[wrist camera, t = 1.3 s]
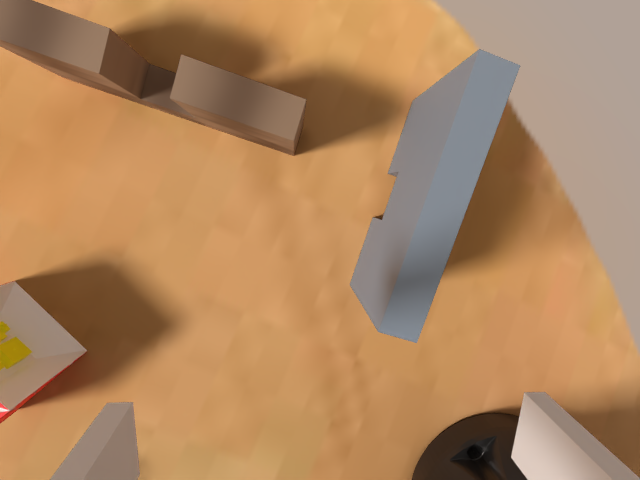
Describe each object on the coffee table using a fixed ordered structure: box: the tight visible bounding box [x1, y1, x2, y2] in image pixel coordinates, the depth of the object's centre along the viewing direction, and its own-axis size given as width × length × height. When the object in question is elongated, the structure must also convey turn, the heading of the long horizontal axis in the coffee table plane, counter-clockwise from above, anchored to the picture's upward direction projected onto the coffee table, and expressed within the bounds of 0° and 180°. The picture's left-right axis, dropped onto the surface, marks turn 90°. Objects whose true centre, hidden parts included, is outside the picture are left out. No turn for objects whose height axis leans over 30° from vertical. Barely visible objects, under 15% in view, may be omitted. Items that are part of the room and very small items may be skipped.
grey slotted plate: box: [350, 49, 520, 343], centre depth 23 cm, size 2×16×10 cm, turn 162°
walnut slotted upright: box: [0, 0, 306, 156], centre depth 22 cm, size 18×2×8 cm, turn 72°
